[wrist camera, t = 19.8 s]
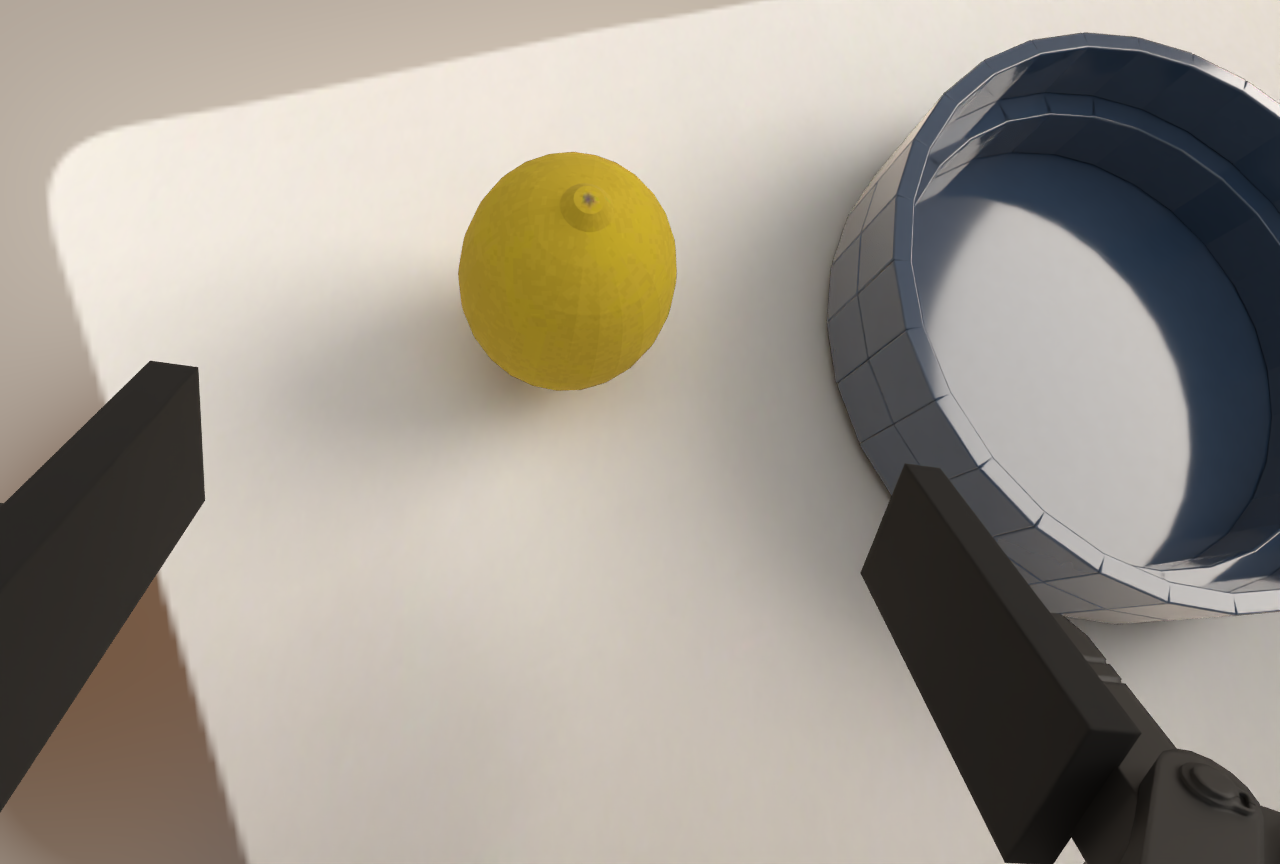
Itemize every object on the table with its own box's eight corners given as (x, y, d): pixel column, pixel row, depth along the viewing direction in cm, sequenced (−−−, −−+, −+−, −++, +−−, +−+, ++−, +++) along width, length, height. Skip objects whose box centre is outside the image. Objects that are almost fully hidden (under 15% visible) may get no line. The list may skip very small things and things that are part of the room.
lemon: (444, 265, 26) (437, 96, 18) (619, 245, 27) (681, 80, 19) (477, 438, 24) (484, 334, 17) (658, 408, 26) (740, 300, 18)
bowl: (1097, 62, 33) (1196, -33, 29) (1385, 460, 31) (1543, 424, 26) (721, 235, 28) (772, 149, 23) (1036, 738, 25) (1161, 752, 21)
